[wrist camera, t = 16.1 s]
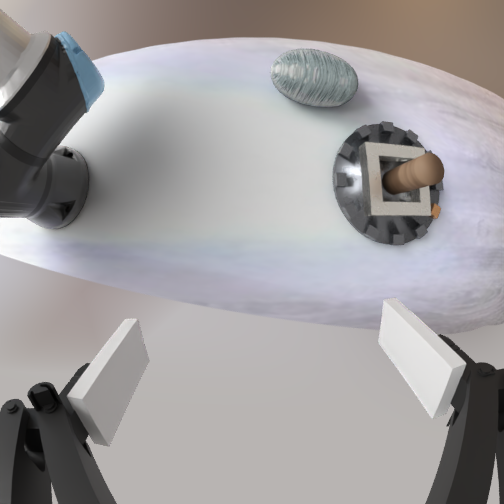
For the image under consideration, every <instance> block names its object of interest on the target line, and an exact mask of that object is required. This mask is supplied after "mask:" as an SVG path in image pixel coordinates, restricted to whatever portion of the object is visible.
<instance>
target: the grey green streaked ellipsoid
mask: <svg viewBox="0 0 504 504" xmlns="http://www.w3.org/2000/svg"><path fill="white" fill-rule="evenodd" d="M271 78H272V81H273V83H274V85H275V87H276V88H277V89H278V90H279V91H280V92H281V93H282V94H283V95H285V96H286V97H288V98H290V99H292V100H294V101H297V102H299V103H302V104H306V105H311V106H319V107H333V106H339V105H342V104H344V103H346V102H348V101H349V100H350V99H351V98H352V97H353V96H354V95H355V93H356V91H357V88H358V78H357V75H356V73H355V71H354V69H353V68H352V67H351V66H350V65H349V64H348V63H347V62H346V61H344V60H343V59H341V58H339V57H337V56H335V55H332V54H330V53H327V52H323V51H319V50H315V49H296V50H291V51H288V52H286V53H284V54H282V55H281V56H279V57H278V58H277V59H276V60H275V61H274V63H273V65H272V67H271Z"/></svg>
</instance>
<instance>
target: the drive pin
mask: <svg viewBox="0 0 504 504" xmlns="http://www.w3.org/2000/svg"><path fill="white" fill-rule="evenodd" d="M443 177H444V167H443V164H442V162H441V160H440V159H439V158H438V157H437V156H436V155H435V154H433V153H426V154H423V155H421V156H419V157H417V158H415V159H413V160H410V161H408V162H406V163H404V164H402V165H400V166H398V167H396V168H393V169H391V170H389V171H387V172H386V173H385V174H384V175H383V177H382V185H383V187H384V189H385V190H386V192H388V193H389V194H391V195H397V194H400V193H404V192H408V191H412V190H415V189H419V188H423V187H426V186H430V185H434V184H438V183H440V182H441V181H442V179H443Z"/></svg>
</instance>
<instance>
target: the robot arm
mask: <svg viewBox="0 0 504 504" xmlns="http://www.w3.org/2000/svg"><path fill="white" fill-rule="evenodd" d="M103 90H104V80H103V78H102V76H101V74H100V73H99V71H98V69H97V68H96V67H95V65H94V64H93V62H92V61H91V60H90V58H89V57H88V56H87V54H86V53H85V52H84V51H83V50H81V48H80V46H79V45H78V44H77V42H76V41H75V40H74V39H73V38H72V37H71V36H70V35H69V34H68V33H67V32H61V33H60V34H57V35H56V36H55V37H53V36H52V35H51V34H50V33H49V32H47V31H43V32H39V33H35V34H30V33H29V32H28V31H26V30H25V29H24V28H23V27H22V26H20V25H19V24H18V23H17V22H16V21H14V20H13V19H12V18H11V17H9V16H8V15H7V14H6V13H5V12H3V11H2V10H1V9H0V217H7V218H27V219H29V220H30V221H32V222H34V223H35V224H37V225H39V226H41V227H44V228H61V227H64V226H66V225H68V224H69V223H71V222H72V221H73V220H74V219H75V218H76V216H77V215H78V214H79V212H80V210H81V209H82V207H83V205H84V202H85V199H86V196H87V192H88V185H89V174H88V168H87V165H86V162H85V160H84V158H83V157H82V156H81V154H80V153H79V152H77V151H76V150H74V149H71V148H69V147H66V146H58V145H59V144H60V143H61V141H62V140H63V139H64V137H65V136H66V135H67V134H68V132H69V131H70V130H71V129H72V128H73V126H74V125H75V124H76V123H77V122H78V120H79V119H80V118H81V117H82V116H83V115H84V113H87V112H88V111H89V109H90V107H91V106H92V105H93V103H94V102H95V101H96V100H97V99H98V98H99V96H100V95H101V94H102V92H103ZM378 343H379V345H380V346H381V347H382V349H383V350H384V351H385V353H386V354H387V355H388V357H389V358H390V360H391V361H392V362H393V364H394V365H395V366H396V368H397V369H398V371H399V372H400V373H401V375H402V376H403V378H404V379H405V380H406V382H407V383H408V385H409V386H410V387H411V389H412V390H413V392H414V393H415V395H416V396H417V398H418V399H419V401H420V402H421V403H422V405H423V406H424V408H425V409H426V410H427V412H428V414H429V415H430V417H431V418H432V419H434V418H437V417H439V416H442V415H444V414H446V413H447V411H448V408H449V406H450V404H452V406H453V407H454V408H455V409H454V412H453V414H452V416H451V418H450V420H449V422H448V424H447V426H449V425H450V427H449V431H448V435H447V440H446V443H445V447H444V451H443V454H442V458H441V461H440V464H439V468H438V471H437V474H436V477H435V480H434V483H433V486H432V488H431V491H430V493H429V496H428V499H427V501H426V503H425V504H487V500H488V495H489V490H490V486H491V480H492V475H493V468H494V461H495V453H496V459H497V468H498V479H499V496H500V504H504V369H499V370H496V369H495V368H494V367H493V366H492V365H490V364H488V363H475V362H474V361H473V360H472V359H471V358H469V356H468V355H467V354H466V353H465V352H463V351H462V350H460V348H459V347H458V346H457V345H455V343H454V342H453V341H451V340H450V339H449V338H447V337H445V336H443V335H441V334H440V335H436V334H435V333H434V332H433V331H432V330H431V329H430V328H429V327H428V326H427V325H426V324H425V323H423V322H422V321H421V320H420V319H419V318H418V317H417V316H416V315H415V314H413V313H412V312H411V311H410V310H409V309H408V308H407V307H406V306H404V305H403V304H402V303H401V302H400V301H399V300H398V299H396V298H391V299H384V300H383V310H382V318H381V326H380V333H379V340H378ZM148 363H149V358H148V354H147V351H146V347H145V344H144V340H143V337H142V333H141V329H140V326H139V321H138V319H125V320H124V321H123V323H122V324H121V325H120V326H119V328H118V329H117V330H116V331H115V333H114V334H113V335H112V336H111V338H110V339H109V340H108V341H107V343H106V344H105V345H104V347H103V348H102V349H101V351H100V352H99V353H98V354H97V356H96V357H95V358H94V360H93V361H92V362H91V363H86V364H85V365H84V366H82V367H81V368H80V369H78V371H77V372H76V373H75V375H74V377H72V378H71V380H70V382H68V384H67V385H66V386H65V388H64V389H63V390H62V392H61V393H60V394H59V395H58V393H57V391H56V389H55V387H54V386H53V384H51V383H48V382H42V383H38V384H36V385H34V386H33V387H32V388H31V389H30V390H29V392H28V395H27V396H28V398H29V399H30V401H31V403H32V405H33V406H34V408H26V407H25V406H24V404H23V402H22V401H21V400H19V399H12V400H9V401H7V402H6V403H5V404H4V405H3V406H2V408H1V411H0V504H52V493H51V482H52V485H53V489H54V492H55V495H56V498H57V501H58V504H117V503H116V502H115V500H114V498H113V496H112V494H111V492H110V491H109V489H108V487H107V485H106V483H105V481H104V479H103V477H102V475H101V472H100V470H99V469H98V466H97V464H96V461H95V459H94V457H93V455H92V452H91V450H90V447H89V445H88V444H87V443H86V439H87V437H88V435H89V436H90V437H91V439H92V441H93V442H94V443H96V444H100V445H104V446H110V444H111V442H112V439H113V437H114V435H115V433H116V431H117V428H118V426H119V424H120V422H121V420H122V417H123V415H124V413H125V411H126V408H127V406H128V404H129V402H130V400H131V398H132V395H133V394H134V392H135V389H136V387H137V385H138V383H139V381H140V379H141V377H142V375H143V373H144V371H145V369H146V367H147V365H148Z"/></svg>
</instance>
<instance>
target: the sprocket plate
mask: <svg viewBox="0 0 504 504" xmlns="http://www.w3.org/2000/svg"><path fill="white" fill-rule="evenodd" d="M417 138H418V136H417V135H416V134H415V133H413V132H412V131H411V130H408V131H406V132H405V131H404V130H402V129H399V128H397V127H394V126H393V123H391V122H383V121H382V122H381V123H380V124H374V125H369V126H367V125H364V126H362V127H360V128H358V129H357V130H356V131H355V132H354V133H353V134H352V135H350V136H349V137H348V138H347V139H346V140H345V142H344V143H343V144H342V146H341V147H340V149H339V151H338V153H337V156H336V158H335V162H334V168H333V185H334V192H335V195H336V199H337V202H338V204H339V207H340V209H341V210H342V212H343V214H344V216H345V217H346V219H347V220H348V221H349V222H350V224H351V225H352V226H353V227H354V228H355V229H356V230H357V231H358V232H360V233H361V234H362V235H364V236H365V237H367V238H369V239H371V240H373V241H376V242H379V243H384V244H390V245H404V243H406V242H409V241H411V240H414V239H415V238H416V239H420V238H421V237H422V236H424V235H425V234H426V233H427V230H426V229H427V228H428V226H429V225H430V223H431V222H432V220H433V219H436V218H438V215H439V213H440V210H441V208H440V207H439V206H438V201H439V191H441V190H443V183H442V181H441V182H440V183H438V184H434V185H430V186H426V187H423V188H419V189H415V190H412V191H408V192H404V193H400V194H397V195H391V194H389V193H388V192H386V190H385V189H384V187H383V185H382V177H383V175H384V174H385V173H386V172H387V171H389V170H391V169H393V168H396V167H398V166H400V165H402V164H404V163H406V162H408V161H410V160H413V159H415V158H417V157H419V156H421V155H423V154H426V153H432V152H431V150H430V151H428V152H427V151H426V150H425V149H424V147H423V146H422V145H421V144H420V143H419V142H418V141H417Z"/></svg>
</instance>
